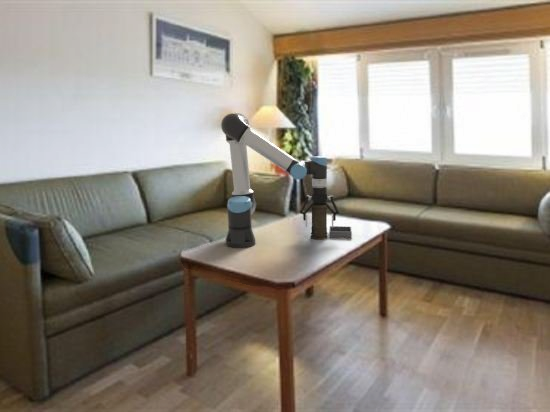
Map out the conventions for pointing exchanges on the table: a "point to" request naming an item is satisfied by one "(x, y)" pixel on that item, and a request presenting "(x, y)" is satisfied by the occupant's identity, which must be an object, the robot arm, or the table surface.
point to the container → (319, 222)
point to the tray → (340, 232)
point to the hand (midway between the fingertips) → (319, 226)
